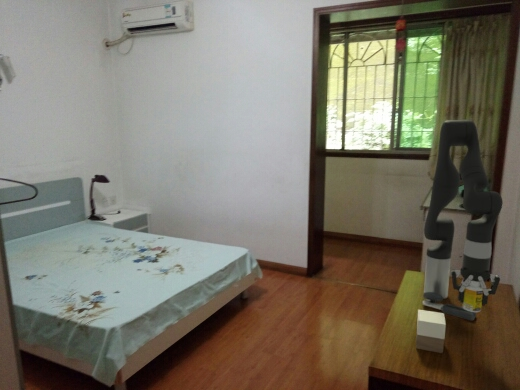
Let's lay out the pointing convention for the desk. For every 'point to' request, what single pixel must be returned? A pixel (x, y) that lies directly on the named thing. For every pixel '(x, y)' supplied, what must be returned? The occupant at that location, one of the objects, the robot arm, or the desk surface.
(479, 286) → the supplement bottle
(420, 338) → the tower base
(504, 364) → the desk surface
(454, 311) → the can opener
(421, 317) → the tower top
